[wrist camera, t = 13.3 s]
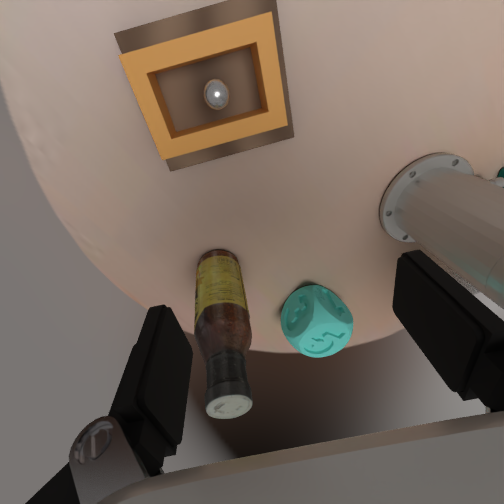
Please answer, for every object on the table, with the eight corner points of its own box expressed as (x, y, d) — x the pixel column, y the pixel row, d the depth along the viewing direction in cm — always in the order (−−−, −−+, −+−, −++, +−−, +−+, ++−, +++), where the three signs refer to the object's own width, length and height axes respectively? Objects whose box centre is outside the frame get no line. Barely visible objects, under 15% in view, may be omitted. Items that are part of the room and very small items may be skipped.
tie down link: (262, 21, 23) (271, 11, 20) (278, 119, 28) (287, 125, 24) (131, 58, 23) (118, 55, 20) (167, 150, 28) (162, 160, 24)
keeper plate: (270, -8, 23) (299, -51, 16) (290, 134, 30) (317, 152, 22) (118, 35, 24) (75, 14, 16) (172, 167, 30) (159, 196, 23)
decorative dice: (340, 294, 45) (362, 331, 38) (310, 324, 48) (326, 363, 41) (304, 277, 42) (322, 314, 35) (275, 310, 45) (287, 350, 38)
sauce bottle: (188, 258, 37) (170, 401, 21) (228, 240, 36) (243, 374, 20) (210, 289, 41) (211, 433, 24) (247, 273, 40) (274, 410, 23)
